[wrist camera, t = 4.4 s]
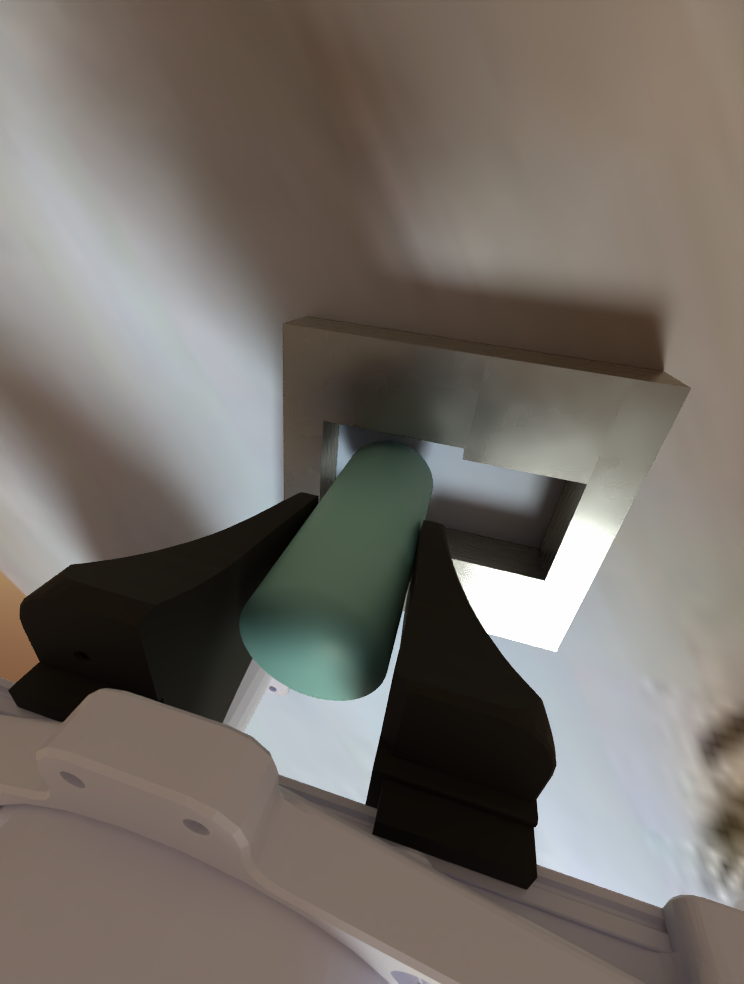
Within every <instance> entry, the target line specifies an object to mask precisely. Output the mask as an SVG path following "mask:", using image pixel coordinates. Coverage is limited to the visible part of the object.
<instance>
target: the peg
mask: <svg viewBox="0 0 744 984" xmlns="http://www.w3.org/2000/svg"><path fill="white" fill-rule="evenodd" d="M432 490H433V479H432V474H431V471H430V469H429V467H428V465H427V463H426V462H425V460H424V459H423V458H422V457H421V456H420V455H419V454H418V453H417V452H416V451H414V450H413V449H412V448H410V447H408V446H406V445H404V444H401V443H398V442H393V441H377V442H373V443H370V444H367V445H365V446H363V447H362V448H360V449H359V450H358V451H357V452H356V453H355V454H354V455H353V456H352V458H351V459H350V460H349V462H348V463H347V465H346V466H345V467H344V469H343V470H342V472H341V473H340V474H339V476H338V477H337V478H336V480H335V481H334V483H333V484H332V485H331V487H330V488H329V490H328V491H327V492H326V494H325V495H324V496H323V498H322V499H321V501H320V502H319V503H318V505H317V506H316V508H315V509H314V510H313V512H312V513H311V514H310V516H309V517H308V519H307V520H306V521H305V523H304V524H303V526H302V527H301V528H300V530H299V531H298V532H297V534H296V535H295V537H294V538H293V539H292V541H291V542H290V544H289V545H288V546H287V548H286V549H285V550H284V552H283V553H282V555H281V556H280V557H279V559H278V560H277V562H276V563H275V564H274V566H273V567H272V568H271V570H270V571H269V573H268V574H267V575H266V577H265V578H264V580H263V581H262V582H261V584H260V585H259V586H258V588H257V589H256V591H255V592H254V593H253V595H252V596H251V598H250V599H249V600H248V602H247V603H246V605H245V606H244V608H243V610H242V612H241V615H240V620H239V628H240V634H241V637H242V640H243V643H244V645H245V647H246V649H247V650H248V652H249V654H250V655H251V657H252V658H253V659H254V660H255V662H256V663H257V664H258V665H259V666H260V667H261V668H262V669H263V670H264V671H265V672H267V673H268V674H269V675H270V676H271V677H273V678H274V679H275V680H277V681H279V682H280V683H282V684H283V685H285V686H287V687H289V688H291V689H293V690H295V691H297V692H300V693H302V694H305V695H308V696H311V697H315V698H319V699H325V700H334V701H345V700H353V699H358V698H361V697H364V696H366V695H368V694H370V693H372V692H373V691H375V690H376V689H377V688H378V687H379V686H380V685H381V684H382V682H383V680H384V679H385V677H386V673H387V670H388V666H389V662H390V658H391V654H392V650H393V646H394V642H395V638H396V634H397V630H398V626H399V622H400V618H401V614H402V610H403V606H404V602H405V598H406V594H407V591H408V587H409V583H410V579H411V575H412V571H413V567H414V561H415V555H416V549H417V544H418V539H419V534H420V530H421V526H422V523H423V520H425V519H426V515H427V511H428V507H429V503H430V499H431V495H432Z"/></svg>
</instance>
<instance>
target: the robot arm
mask: <svg viewBox="0 0 744 984" xmlns="http://www.w3.org/2000/svg"><path fill="white" fill-rule="evenodd" d="M318 502H319V496H317V495H313V494H308V493H304V492H300V493H298V494H296V495H294V496H292V497H290V498H288V499H286V500H284V501H282V502H280V503H278V504H277V505H275V506H273V507H271V508H269V509H267V510H265V511H263V512H261V513H259V514H257V515H255V516H253V517H251V518H249V519H247V520H245V521H242V522H240V523H238V524H236V525H234V526H231V527H229V528H227V529H224V530H222V531H219V532H217V533H214V534H212V535H209V536H206V537H203V538H200V539H197V540H194V541H191V542H188V543H184V544H180V545H177V546H173V547H170V548H166V549H162V550H158V551H154V552H149V553H145V554H140V555H135V556H130V557H124V558H118V559H112V560H105V561H97V562H90V563H82V564H73V565H70V566H69V567H67V568H66V569H64V570H63V571H62V572H60V573H59V574H57V575H56V576H55V577H53V578H52V579H51V580H49V581H48V582H46V583H45V584H44V585H42V586H41V587H40V588H38V589H37V590H35V591H34V592H33V593H31V594H30V595H28V596H27V597H26V598H24V600H23V601H22V603H21V605H20V620H21V623H22V626H23V628H24V630H25V632H26V634H27V636H28V638H29V641H30V642H31V645H32V647H33V649H34V651H35V653H36V655H37V657H38V659H39V661H40V662H39V663H38V664H37V665H36V666H35V667H33V668H32V669H31V670H30V671H29V672H28V673H27V674H26V675H24V676H23V677H22V678H21V679H20V680H19V681H18V682H16V683H14V682H12V681H9V680H6V679H3V678H0V984H744V911H741V910H738V909H735V908H732V907H729V906H726V905H723V904H720V903H717V902H714V901H711V900H708V899H706V898H702V897H698V896H694V895H679V896H676V897H673V898H672V899H670V900H669V901H668V902H667V903H666V905H665V906H664V907H663V908H660V907H657V906H654V905H651V904H648V903H645V902H642V901H640V900H637V899H634V898H631V897H628V896H625V895H622V894H620V893H617V892H614V891H611V890H608V889H605V888H602V887H599V886H597V885H594V884H591V883H588V882H585V881H582V880H579V879H577V878H574V877H571V876H568V875H565V874H562V873H559V872H556V871H554V870H551V869H548V868H545V867H542V866H539V865H537V864H536V851H535V838H534V827H536V826H537V823H538V812H537V800H536V799H537V798H538V796H539V795H540V793H541V792H542V790H543V789H544V787H545V786H546V784H547V783H548V781H549V780H550V778H551V777H552V775H553V773H554V770H555V767H556V754H555V746H554V741H553V736H552V732H551V728H550V725H549V721H548V717H547V714H546V711H545V707H544V704H543V701H542V699H541V698H540V697H539V696H538V695H537V694H536V693H535V691H534V690H533V689H532V688H531V687H530V686H529V685H528V684H527V683H526V682H525V681H524V680H523V679H522V677H521V676H520V675H519V674H518V673H517V672H516V671H515V670H514V669H513V667H512V666H511V665H510V664H509V662H508V661H507V660H506V659H505V657H504V656H503V655H502V654H501V652H500V651H499V649H498V648H497V646H496V645H495V644H494V642H493V641H492V639H491V638H490V636H489V635H488V634H487V632H486V631H485V629H484V627H483V626H482V624H481V622H480V621H479V619H478V617H477V616H476V614H475V612H474V610H473V608H472V606H471V605H470V603H469V601H468V599H467V597H466V594H465V592H464V590H463V588H462V585H461V583H460V581H459V578H458V575H457V573H456V570H455V567H454V564H453V561H452V558H451V554H450V551H449V547H448V542H447V537H446V528H445V526H444V525H443V524H440V523H436V522H431V521H427V520H423V523H422V526H421V530H420V534H419V539H418V544H417V549H416V555H415V561H414V567H413V571H412V575H411V579H410V583H409V588H408V593H407V598H406V606H405V613H404V621H403V629H402V636H401V644H400V649H399V653H398V657H397V661H396V665H395V669H394V674H393V679H392V683H391V688H390V693H389V698H388V702H387V707H386V712H385V717H384V721H383V726H382V731H381V736H380V740H379V744H378V749H377V753H376V757H375V762H374V766H373V771H372V776H371V781H370V786H369V790H368V795H367V800H366V805H364V804H362V803H359V802H356V801H353V800H350V799H347V798H344V797H341V796H339V795H336V794H333V793H330V792H327V791H324V790H321V789H319V788H316V787H313V786H310V785H307V784H304V783H301V782H298V781H296V780H293V779H290V778H287V777H284V776H281V775H279V774H278V771H277V768H276V765H275V763H274V761H273V759H272V756H271V754H270V752H269V751H268V750H267V749H266V748H264V747H263V746H262V745H261V744H260V743H259V742H258V741H257V740H255V739H254V738H253V737H252V736H250V735H248V734H245V733H244V731H245V729H246V728H247V726H248V724H249V722H250V720H251V718H252V716H253V714H254V712H255V710H256V708H257V706H258V705H259V703H260V701H261V699H262V697H263V695H264V693H265V691H267V692H270V693H273V694H276V695H280V696H286V695H287V694H288V692H289V689H290V688H289V687H287V686H285V685H283V684H282V683H280V682H279V681H277V680H275V679H274V678H273V677H271V676H270V675H269V674H268V673H267V672H265V671H264V670H263V669H262V668H261V667H260V666H259V665H258V664H257V663H256V662H255V660H254V659H253V658H252V657H251V655H250V654H249V652H248V650H247V649H246V647H245V645H244V643H243V640H242V637H241V634H240V628H239V620H240V615H241V612H242V610H243V608H244V606H245V605H246V603H247V602H248V600H249V599H250V598H251V596H252V595H253V593H254V592H255V591H256V589H257V588H258V586H259V585H260V584H261V582H262V581H263V580H264V578H265V577H266V575H267V574H268V573H269V571H270V570H271V568H272V567H273V566H274V564H275V563H276V562H277V560H278V559H279V557H280V556H281V555H282V553H283V552H284V550H285V549H286V548H287V546H288V545H289V544H290V542H291V541H292V539H293V538H294V537H295V535H296V534H297V532H298V531H299V530H300V528H301V527H302V526H303V524H304V523H305V521H306V520H307V519H308V517H309V516H310V514H311V513H312V512H313V510H314V509H315V508H316V506H317V505H318Z"/></svg>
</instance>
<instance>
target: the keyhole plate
mask: <svg viewBox="0 0 744 984" xmlns="http://www.w3.org/2000/svg"><path fill="white" fill-rule="evenodd" d="M690 389H691V388H690V387H688V386H687V385H685V384H683V383H682V382H680V381H679V380H677V379H675V378H674V377H672V376H670V375H669V374H667V373H666V372H663V371H656V370H650V369H643V368H637V367H630V366H624V365H617V364H611V363H604V362H598V361H591V360H585V359H578V358H572V357H565V356H559V355H552V354H546V353H539V352H533V351H526V350H520V349H513V348H507V347H500V346H494V345H487V344H481V343H474V342H468V341H461V340H455V339H448V338H442V337H435V336H429V335H422V334H416V333H409V332H403V331H396V330H390V329H383V328H377V327H370V326H364V325H357V324H351V323H344V322H338V321H332V320H325V319H319V318H312V317H304V318H300V319H297V320H293V321H290V322H287V323H283V415H284V500H286V499H288V498H290V497H292V496H294V495H296V494H298V493H300V492H304V493H308V494H313V495H317V496H319V502H320V501H321V499H322V498H323V496H324V495H325V494H326V492H327V491H328V490H329V488H330V487H331V485H332V484H333V483H334V481H335V480H336V466H337V451H338V436H339V424H343V425H348V426H353V427H358V428H363V429H368V430H373V431H378V432H383V433H389V434H394V435H399V436H404V437H409V438H414V439H419V440H424V441H429V442H435V443H440V444H445V445H450V446H455V447H460V448H464V454H463V459H464V460H469V461H474V462H479V463H484V464H489V465H494V466H499V467H504V468H509V469H514V470H519V471H524V472H529V473H534V474H539V475H544V476H549V477H554V478H559V479H564V480H567V482H566V485H565V487H564V490H563V492H562V495H561V497H560V500H559V502H558V505H557V507H556V510H555V512H554V514H553V517H552V519H551V522H550V524H549V527H548V529H547V532H546V534H545V537H544V539H543V542H542V544H541V547H540V549H536V548H531V547H527V546H523V545H518V544H514V543H509V542H505V541H501V540H496V539H492V538H487V537H483V536H479V535H474V534H470V533H466V532H461V531H457V530H452V529H448V528H446V537H447V542H448V547H449V551H450V554H451V558H452V561H453V564H454V567H455V570H456V573H457V575H458V578H459V581H460V583H461V585H462V588H463V590H464V592H465V594H466V597H467V599H468V601H469V603H470V605H471V606H472V608H473V610H474V612H475V614H476V616H477V617H478V619H479V621H480V622H481V624H482V626H483V627H484V629H485V631H486V632H487V633H488V634H492V635H496V636H499V637H503V638H507V639H511V640H514V641H518V642H522V643H526V644H530V645H533V646H537V647H541V648H545V649H548V650H552V651H557V649H558V647H559V645H560V643H561V641H562V639H563V637H564V635H565V633H566V631H567V629H568V627H569V625H570V623H571V622H572V620H573V618H574V616H575V614H576V612H577V610H578V608H579V606H580V604H581V602H582V600H583V598H584V596H585V594H586V592H587V590H588V588H589V586H590V584H591V583H592V581H593V579H594V577H595V575H596V573H597V571H598V569H599V567H600V565H601V563H602V561H603V559H604V557H605V555H606V553H607V551H608V549H609V547H610V545H611V544H612V542H613V540H614V538H615V536H616V534H617V532H618V530H619V528H620V526H621V524H622V522H623V520H624V518H625V516H626V514H627V512H628V510H629V508H630V506H631V505H632V503H633V501H634V499H635V497H636V495H637V493H638V491H639V489H640V487H641V485H642V483H643V481H644V479H645V477H646V475H647V473H648V471H649V469H650V467H651V466H652V464H653V462H654V460H655V458H656V456H657V454H658V452H659V450H660V448H661V446H662V444H663V442H664V440H665V438H666V436H667V434H668V432H669V430H670V428H671V427H672V425H673V423H674V421H675V419H676V417H677V415H678V413H679V411H680V409H681V407H682V405H683V403H684V401H685V399H686V397H687V395H688V393H689V391H690ZM319 502H318V503H319ZM408 588H409V587H408ZM407 593H408V591H407ZM406 598H407V594H406ZM406 598H405V602H404V606H403V610H402V611H405V606H406Z"/></svg>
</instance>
